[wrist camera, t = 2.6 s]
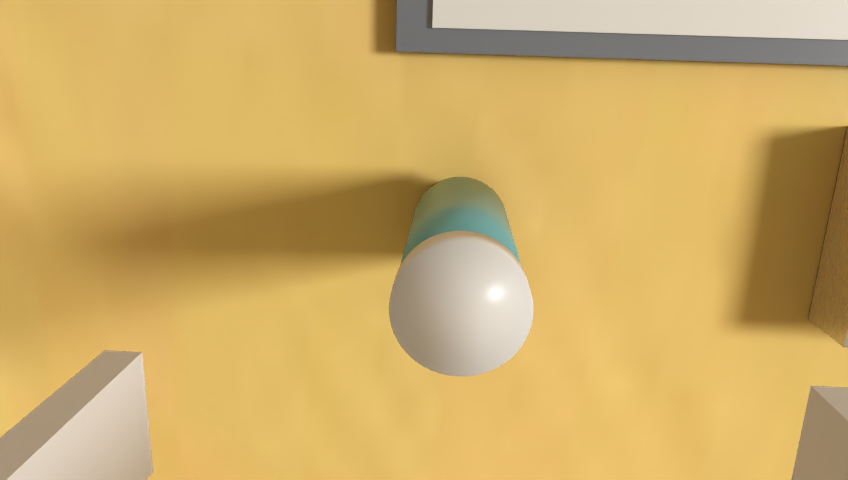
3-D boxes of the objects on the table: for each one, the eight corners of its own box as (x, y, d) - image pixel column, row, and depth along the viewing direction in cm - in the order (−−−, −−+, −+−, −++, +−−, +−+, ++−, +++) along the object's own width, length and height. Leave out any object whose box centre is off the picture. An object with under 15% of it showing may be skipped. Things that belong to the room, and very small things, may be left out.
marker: (414, 252, 31) (387, 372, 20) (416, 166, 30) (390, 238, 18) (501, 256, 31) (528, 379, 19) (507, 169, 30) (538, 245, 18)
